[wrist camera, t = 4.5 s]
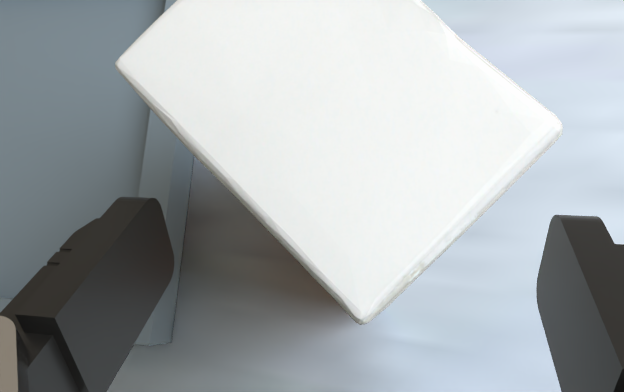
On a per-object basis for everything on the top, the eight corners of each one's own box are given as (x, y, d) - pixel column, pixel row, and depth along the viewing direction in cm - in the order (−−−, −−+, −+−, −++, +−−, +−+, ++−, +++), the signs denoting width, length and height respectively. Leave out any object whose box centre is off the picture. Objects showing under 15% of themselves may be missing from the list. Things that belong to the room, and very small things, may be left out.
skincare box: (269, 203, 20) (96, 56, 8) (347, 128, 20) (284, -120, 9) (381, 320, 18) (359, 337, 7) (465, 236, 19) (583, 114, 7)
